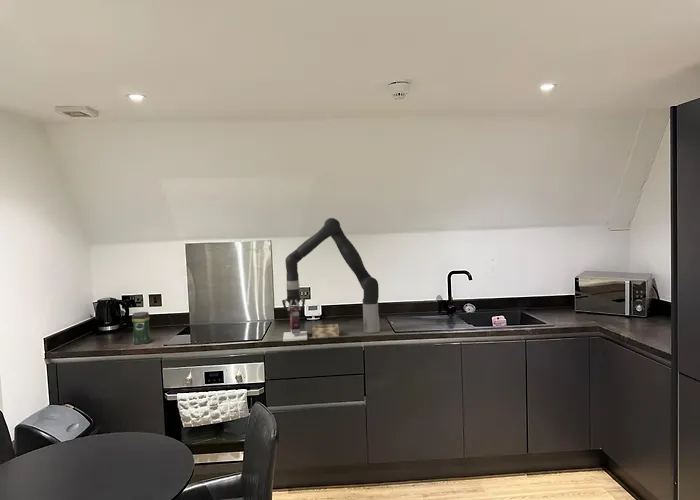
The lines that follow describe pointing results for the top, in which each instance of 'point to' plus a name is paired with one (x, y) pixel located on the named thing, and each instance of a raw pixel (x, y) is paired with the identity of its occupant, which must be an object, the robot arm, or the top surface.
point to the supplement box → (294, 320)
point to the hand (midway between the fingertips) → (294, 316)
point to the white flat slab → (295, 336)
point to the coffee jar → (141, 327)
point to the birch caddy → (325, 330)
